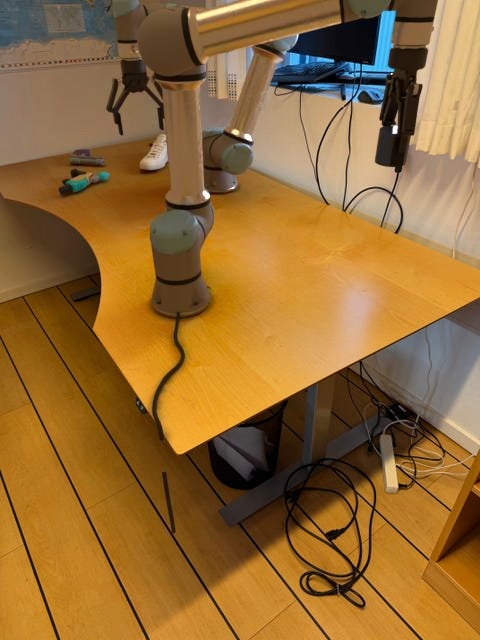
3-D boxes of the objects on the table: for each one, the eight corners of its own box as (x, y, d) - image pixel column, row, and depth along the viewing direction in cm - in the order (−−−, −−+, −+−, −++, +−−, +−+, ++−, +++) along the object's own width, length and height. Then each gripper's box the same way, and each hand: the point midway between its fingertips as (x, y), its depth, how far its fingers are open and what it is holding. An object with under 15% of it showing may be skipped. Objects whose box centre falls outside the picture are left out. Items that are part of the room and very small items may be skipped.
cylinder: (408, 160, 111) (414, 127, 106) (402, 169, 106) (408, 135, 102) (378, 156, 113) (383, 124, 109) (371, 164, 108) (376, 131, 104)
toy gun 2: (37, 182, 187) (65, 188, 181) (83, 164, 205) (110, 169, 200) (39, 193, 189) (67, 200, 184) (85, 174, 208) (111, 179, 202)
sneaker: (133, 173, 208) (129, 144, 201) (161, 153, 230) (158, 127, 223) (155, 175, 205) (151, 146, 198) (180, 155, 227) (178, 129, 220)
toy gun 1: (116, 157, 226) (102, 168, 214) (79, 155, 229) (64, 165, 217) (114, 149, 224) (100, 159, 212) (78, 147, 227) (62, 157, 215)
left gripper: (450, 52, 88) (423, 174, 102) (408, 40, 104) (389, 147, 118) (411, 53, 88) (389, 176, 101) (374, 41, 104) (360, 148, 117)
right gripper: (93, 63, 136) (106, 139, 149) (175, 57, 145) (181, 129, 157) (88, 60, 142) (101, 133, 154) (167, 54, 150) (174, 124, 163)
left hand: (389, 160), depth 109 cm, fingers closed on cylinder, 7 cm apart
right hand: (141, 131), depth 156 cm, fingers open, 13 cm apart
